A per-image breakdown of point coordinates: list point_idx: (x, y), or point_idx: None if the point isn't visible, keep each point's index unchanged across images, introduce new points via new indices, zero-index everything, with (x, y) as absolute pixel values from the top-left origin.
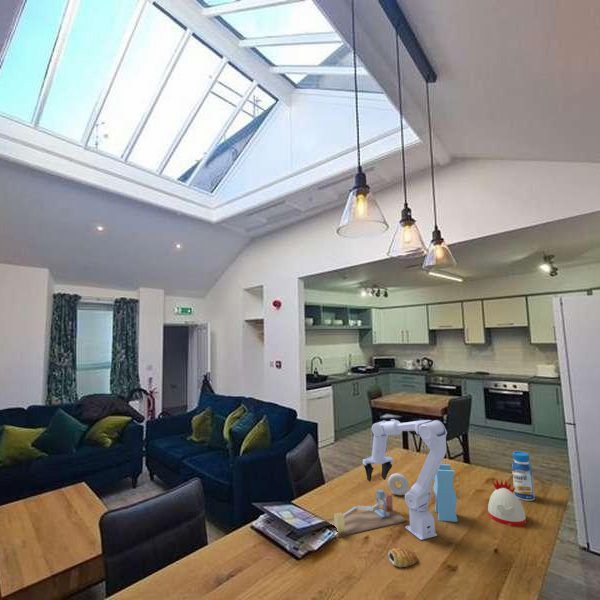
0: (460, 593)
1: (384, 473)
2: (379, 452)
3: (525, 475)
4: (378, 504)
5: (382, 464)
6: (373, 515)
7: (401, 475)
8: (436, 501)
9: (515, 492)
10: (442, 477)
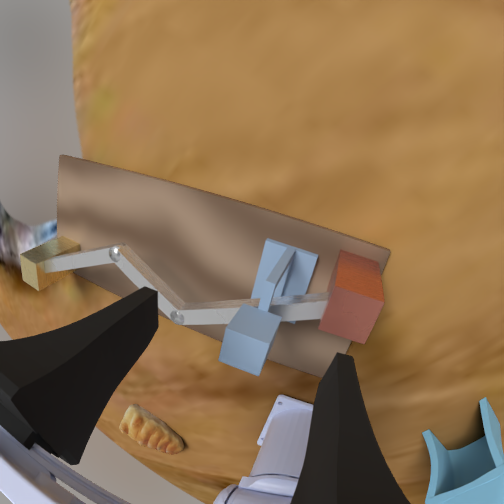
0: (186, 492)
1: (316, 432)
2: None
3: None
4: (224, 323)
5: (325, 494)
6: (240, 260)
7: None
8: (487, 438)
9: None
10: None
